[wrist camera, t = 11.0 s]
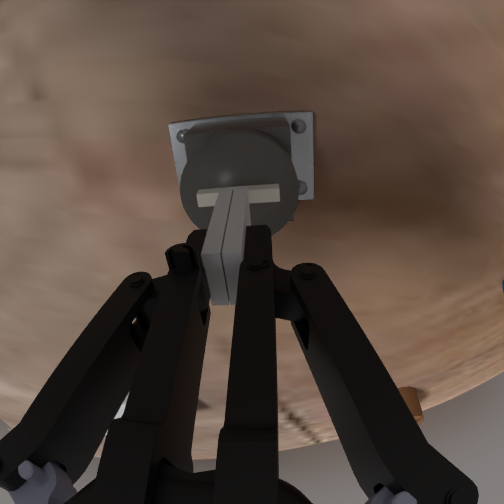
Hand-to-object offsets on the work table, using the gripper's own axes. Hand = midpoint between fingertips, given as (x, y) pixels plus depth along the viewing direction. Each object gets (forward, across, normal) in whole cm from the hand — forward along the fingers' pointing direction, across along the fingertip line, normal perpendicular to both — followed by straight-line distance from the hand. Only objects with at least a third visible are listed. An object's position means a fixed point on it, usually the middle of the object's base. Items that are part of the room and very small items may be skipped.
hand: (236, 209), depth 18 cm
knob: (+9, 0, 0) cm, 9 cm away
